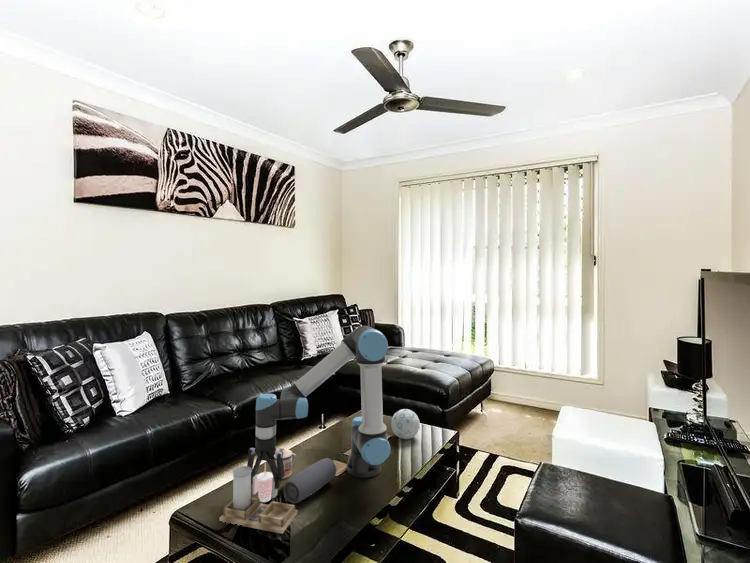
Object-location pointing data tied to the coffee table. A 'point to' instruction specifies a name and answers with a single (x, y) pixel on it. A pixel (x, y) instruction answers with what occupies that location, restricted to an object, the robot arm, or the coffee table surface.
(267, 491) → the beverage cup
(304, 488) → the bluetooth speaker
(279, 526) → the rack
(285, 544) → the coffee table surface
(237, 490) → the grey tube
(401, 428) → the puzzle ball
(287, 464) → the teacup with lid
